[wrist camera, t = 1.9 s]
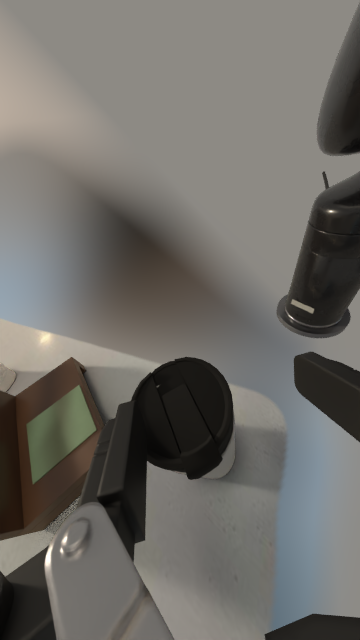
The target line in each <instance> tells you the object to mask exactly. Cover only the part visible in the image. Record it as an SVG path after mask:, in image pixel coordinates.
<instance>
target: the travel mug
mask: <svg viewBox="0 0 360 640" xmlns="http://www.w3.org/2000/svg"><path fill="white" fill-rule="evenodd" d="M134 400H136V401H137V403H138V405H139V408H140V411H141V414H142V418H143V421H144V424H145V427H146V432H147V461H148V462H150V463H151V464H153V465H154V466H157V467H160V468H163V469H166V470H171V471H174V472H177V473H180V474H185V475H187V477H188V479H191V480H192V479H199V478H200V477H202V478H208V479H218V478H221V477H223V476H225V475H226V474H227V473H228V472H229V471H230V470H231V468H232V466H233V464H234V460H235V422H234V421H235V420H234V412H233V401H232V394H231V391H230V388H229V385H228V383H227V381H226V380H225V378H224V376H223V375H222V374H221V373H220V372H219V371H218V369H217V368H215V367H214V366H212V365H211V364H210V363H207V362H206V361H204V360H201V359H197V358H191V357H185V358H180V359H175V361H170V362H168V363H165V364H163V365H161V366H160V367H158V368H157V369H155V370H154V371H153V373H151V372H150V373H149V374H148V375H147V376H146V377H145V378H144V379H143V380H142V381H141V382H140V384H139V385H138V387H137V388H136V390H135V392H134V395H133V397H132V399H131V401H134Z"/></svg>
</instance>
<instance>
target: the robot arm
mask: <svg viewBox="0 0 360 640" xmlns="http://www.w3.org/2000/svg"><path fill="white" fill-rule="evenodd" d="M317 141H318V145H319V148H320V150H321V151H322V152H323V153H324V154H327V155H330V156H343V155H352V154H357V153H360V2H359V5H358V7H357V10H356V12H355V15H354V17H353V19H352V21H351V24H350V26H349V29H348V32H347V34H346V36H345V39H344V41H343V44H342V46H341V49H340V51H339V53H338V56H337V59H336V62H335V64H334V67H333V70H332V73H331V75H330V78H329V81H328V85H327V88H326V91H325V94H324V97H323V101H322V104H321V109H320V113H319V118H318V124H317ZM322 174H323V178H324V182H325V187H326V190H325V191H323V192H322V193H321V194H320V195H319V196H318V197H317V198H316V200H315V202H314V204H313V206H312V210H311V214H310V217H309V221H308V225H307V228H306V232H305V235H304V239H303V243H302V247H301V250H300V254H299V258H298V261H297V265H296V268H295V272H294V276H293V279H292V283H291V287H290V290H289V293H288V297H287V300H286V302H285V306H284V310H285V313H286V315H287V316H288V317H289V318H290V319H291V320H292V321H293V322H295V323H297V324H299V325H301V326H304V327H308V328H314V329H324V328H329V327H332V326H334V325H336V324H337V323H338V322H339V321H340V320H341V318H342V317H343V314H344V312H345V311H346V309H347V308H348V306H349V305H350V303H351V301H352V300H353V298H354V297H355V295H356V294H357V292H358V290H359V289H360V171H359V172H358V173H356V174H355V175H353V176H351V177H349V178H347V179H345V180H344V181H342V182H340V183H337V184H335V185H333V186H331V187H329V186H328V181H327V178H326V174H325V172H323V173H322ZM294 379H295V380H294V381H295V386H296V388H297V390H298V391H299V393H301V395H302V396H304V397H305V398H306V399H308V400H309V401H310V402H311V403H312V404H313V405H315V406H316V407H317V408H318V409H320V410H321V411H322V412H323V413H325V414H326V415H327V416H328V417H329V418H331V419H332V420H333V421H335V422H336V423H337V424H338V425H339V426H341V427H342V428H343V429H344V430H346V431H347V432H348V433H349V434H350V435H352V436H353V437H354V438H355V439H356V440H358V441H359V442H360V372H359V371H357V370H354V369H353V368H351V367H349V366H347V365H345V364H343V363H340V362H337V361H333V360H329V359H326V358H324V357H322V356H320V355H318V354H316V353H314V352H308V353H304V354H301V355H297V356H295V358H294ZM146 473H147V432H146V427H145V424H144V421H143V418H142V414H141V411H140V408H139V405H138V403H137V401H136V400H134V401H130V402H127V403H123V404H120V405H119V406H118V410H117V414H116V418H114V419H110V420H108V422H107V423H106V425H105V426H104V427H103V429H102V430H101V432H100V435H99V439H98V442H97V446H96V448H95V451H94V457H93V458H92V461H91V464H90V467H89V470H88V474H87V477H86V480H85V483H84V486H83V489H82V493H81V496H80V499H79V502H78V505H77V508H76V510H74V511H73V512H72V513H71V514H70V515H69V516H68V517H67V518H66V519H65V520H64V522H63V523H62V524H61V525H60V527H59V528H58V530H57V531H56V533H55V535H54V537H53V538H52V541H51V543H50V545H49V546H47V547H46V548H45V549H44V550H42V551H41V552H40V553H38V554H37V555H35V556H34V557H33V558H31V559H30V560H28V561H27V562H26V563H24V564H23V565H21V566H20V567H19V568H17V569H16V570H14V571H13V572H12V573H10V574H9V575H7V576H6V577H5V576H4V575H3V574H2V573H1V571H0V640H174V638H173V636H172V634H171V632H170V630H169V628H168V626H167V625H166V623H165V621H164V619H163V617H162V615H161V613H160V611H159V609H158V608H157V606H156V604H155V602H154V600H153V598H152V596H151V594H150V593H149V591H148V589H147V588H146V586H145V584H144V582H143V581H142V579H141V577H140V575H139V573H138V571H137V569H136V567H135V565H134V563H133V561H134V545H135V543H138V542H141V541H144V540H145V518H146ZM265 639H266V640H360V618H356V617H345V616H333V615H321V614H312V615H309V616H307V617H304V618H302V619H300V620H297V621H295V622H293V623H290V624H288V625H286V626H283V627H281V628H279V629H276V630H274V631H272V632H269V633H267V634H265Z"/></svg>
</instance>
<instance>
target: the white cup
mask: <svg viewBox="0 0 360 640" xmlns="http://www.w3.org/2000/svg"><path fill="white" fill-rule="evenodd" d="M15 375H16V373H15V372H14V371H12V370H11V369H9V368H7V367H5V366H4V365H3V364H1V363H0V391H3V392H6V391H7V390H8V389H9V388H10V387H11V385H12V384H13V382H14V380H15Z"/></svg>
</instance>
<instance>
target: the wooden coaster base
mask: <svg viewBox="0 0 360 640" xmlns="http://www.w3.org/2000/svg"><path fill="white" fill-rule="evenodd" d="M84 372H86V370H85V367H84V366H83V365H82V364H80V363H79V362H78V361H76V360H75V359H74V358H73V357H71V358H70V359H68V360H67V361H65V362H64V363H62V364H61V365H60V366H58V367H57V368H55V369H54V370H52V371H51V372H49V373H48V374H47V375H45V376H44V377H42V378H41V379H39V380H38V381H37V382H35V383H34V384H32V385H31V386H29V387H28V388H27V389H25V390H24V391H22V392H21V393H19V394H18V395H16V396H13V395H10V394H8V393H5V392H3V391H0V540H4V539H9V538H13V537H17V536H21V535H25V534H29V533H33V532H38V531H42V530H44V529H45V528H46V527H47V526H48V525H49V524H50V523H51V522H52V521H53V520H54V519H55V518H56V517H58V516H59V515H60V514H61V513H62V512H63V511H64V510H65V509H66V508H67V507H68V506H69V505H70V504H71V503H72V502H73V501H74V500H75V499H76V498H77V497H79V496H80V495H81V493H82V489H83V486H84V483H85V480H86V477H87V474H88V470H89V467H90V464H91V461H92V458H93V457H94V451H95V448H96V446H97V442H98V439H99V435H100V432H101V430H102V429H103V427H104V424H103V421H102V419H101V417H100V414H99V412H98V409H97V407H96V405H95V402H94V400H93V398H92V395H91V393H90V391H89V388H88V386H87V384H86V381H85V379H84V376H83V373H84Z"/></svg>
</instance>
